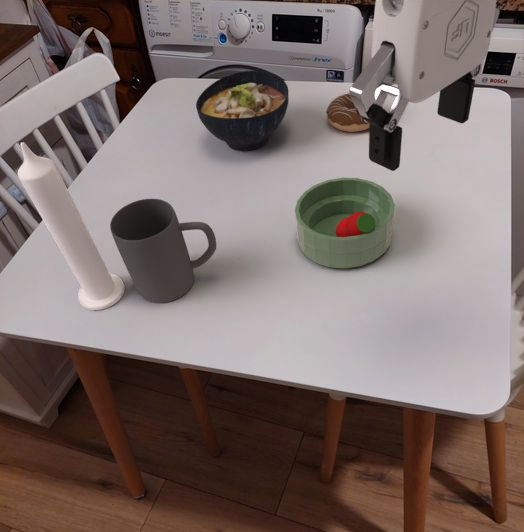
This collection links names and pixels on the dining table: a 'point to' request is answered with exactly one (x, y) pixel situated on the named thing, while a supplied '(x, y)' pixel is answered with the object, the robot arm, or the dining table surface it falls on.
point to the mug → (157, 248)
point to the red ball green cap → (342, 228)
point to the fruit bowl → (333, 211)
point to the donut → (345, 115)
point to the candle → (69, 231)
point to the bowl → (244, 108)
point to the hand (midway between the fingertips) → (418, 140)
